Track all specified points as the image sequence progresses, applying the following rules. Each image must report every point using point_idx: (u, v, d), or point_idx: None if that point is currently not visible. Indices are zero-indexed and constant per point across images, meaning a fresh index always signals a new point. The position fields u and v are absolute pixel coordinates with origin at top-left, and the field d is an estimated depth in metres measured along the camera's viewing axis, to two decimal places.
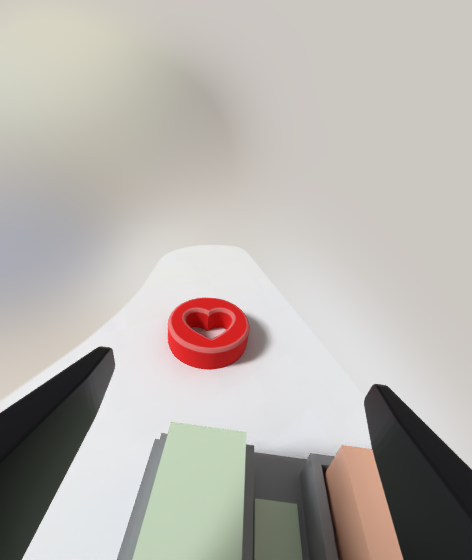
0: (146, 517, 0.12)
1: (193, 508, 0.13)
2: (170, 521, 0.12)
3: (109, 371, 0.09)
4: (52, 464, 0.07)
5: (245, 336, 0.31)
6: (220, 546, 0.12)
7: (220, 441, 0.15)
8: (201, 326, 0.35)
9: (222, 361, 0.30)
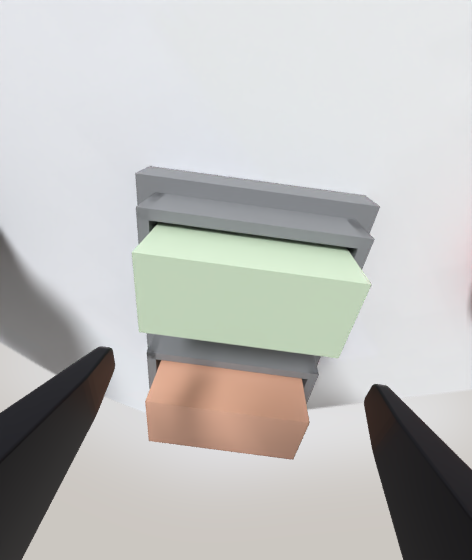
0: (266, 272, 0.11)
1: (270, 311, 0.12)
2: (261, 293, 0.12)
3: (109, 371, 0.09)
4: (52, 464, 0.07)
5: None
6: (241, 331, 0.13)
7: (332, 335, 0.13)
8: None
9: None
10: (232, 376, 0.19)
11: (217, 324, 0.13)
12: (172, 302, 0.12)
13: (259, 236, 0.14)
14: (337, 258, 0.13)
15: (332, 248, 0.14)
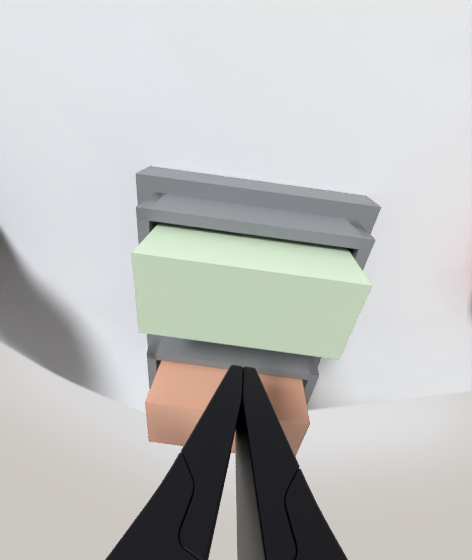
0: (266, 273, 0.11)
1: (270, 312, 0.12)
2: (261, 294, 0.12)
3: None
4: None
5: None
6: (241, 332, 0.13)
7: (333, 336, 0.13)
8: None
9: None
10: None
11: (217, 324, 0.13)
12: (172, 303, 0.12)
13: (259, 236, 0.14)
14: (338, 259, 0.13)
15: (333, 249, 0.14)
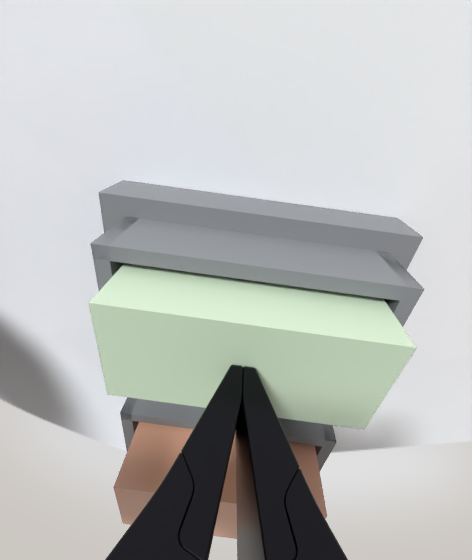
0: (272, 330, 0.08)
1: (277, 376, 0.09)
2: (264, 355, 0.09)
3: None
4: None
5: None
6: None
7: (358, 405, 0.10)
8: None
9: None
10: None
11: (207, 388, 0.10)
12: (147, 363, 0.09)
13: None
14: (364, 302, 0.10)
15: None
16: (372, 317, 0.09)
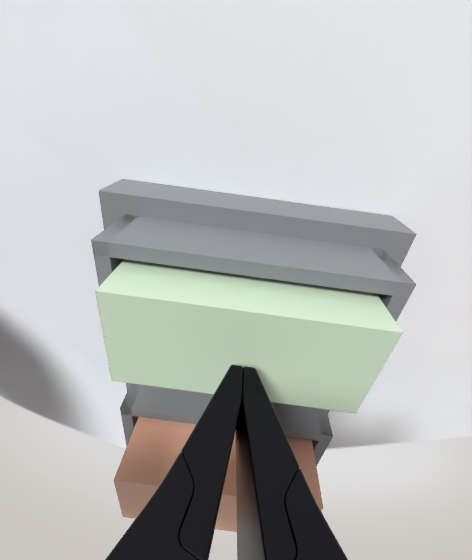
0: (267, 316, 0.09)
1: (272, 361, 0.10)
2: (261, 340, 0.09)
3: None
4: None
5: None
6: None
7: (349, 388, 0.10)
8: None
9: None
10: None
11: (207, 373, 0.10)
12: (149, 349, 0.10)
13: None
14: (355, 292, 0.11)
15: None
16: (362, 305, 0.10)
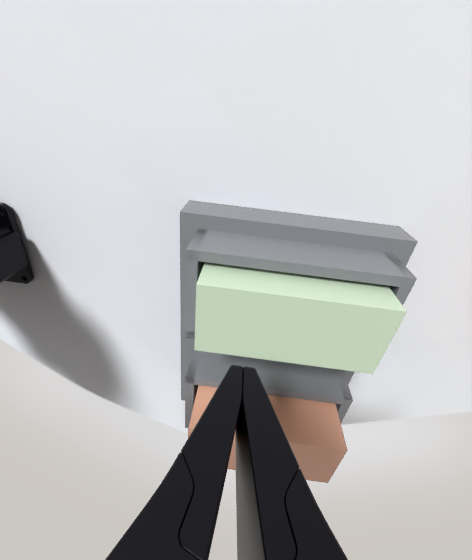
0: (313, 301, 0.13)
1: (314, 334, 0.14)
2: (307, 318, 0.14)
3: None
4: None
5: None
6: (286, 350, 0.15)
7: (369, 354, 0.14)
8: None
9: None
10: None
11: (265, 343, 0.15)
12: (226, 326, 0.14)
13: None
14: (372, 284, 0.15)
15: None
16: (378, 294, 0.14)
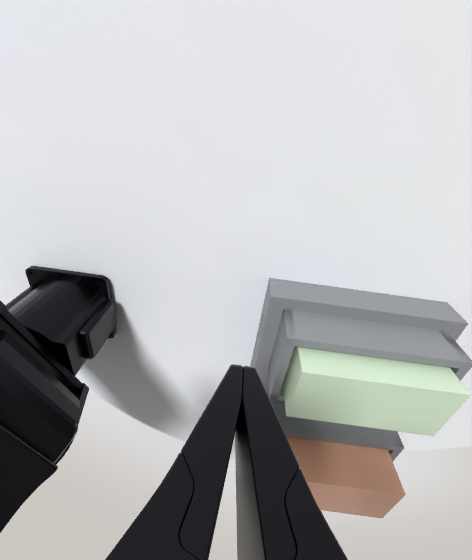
0: (396, 386, 0.16)
1: (391, 407, 0.17)
2: (388, 397, 0.17)
3: None
4: None
5: None
6: (365, 418, 0.18)
7: (433, 422, 0.18)
8: None
9: None
10: (331, 448, 0.22)
11: (348, 413, 0.18)
12: (319, 400, 0.17)
13: None
14: None
15: None
16: (443, 375, 0.17)
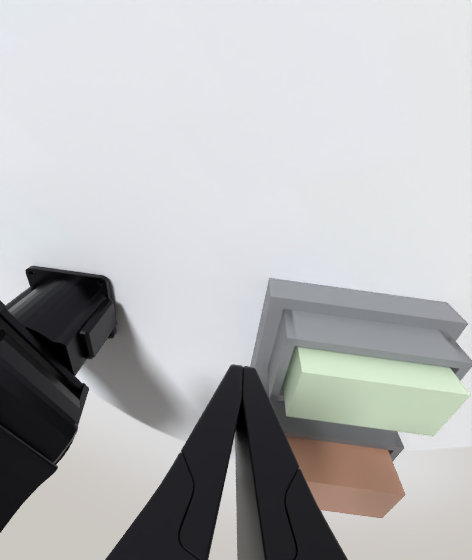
0: (396, 386, 0.16)
1: (391, 407, 0.17)
2: (388, 397, 0.17)
3: None
4: None
5: None
6: (365, 418, 0.18)
7: (433, 422, 0.18)
8: None
9: None
10: (331, 448, 0.22)
11: (348, 413, 0.18)
12: (319, 400, 0.17)
13: None
14: None
15: None
16: (443, 375, 0.17)
